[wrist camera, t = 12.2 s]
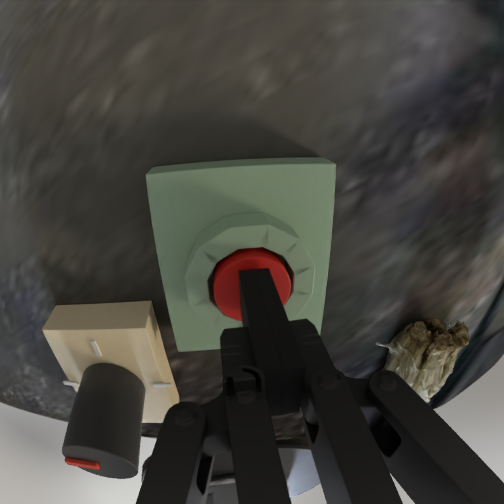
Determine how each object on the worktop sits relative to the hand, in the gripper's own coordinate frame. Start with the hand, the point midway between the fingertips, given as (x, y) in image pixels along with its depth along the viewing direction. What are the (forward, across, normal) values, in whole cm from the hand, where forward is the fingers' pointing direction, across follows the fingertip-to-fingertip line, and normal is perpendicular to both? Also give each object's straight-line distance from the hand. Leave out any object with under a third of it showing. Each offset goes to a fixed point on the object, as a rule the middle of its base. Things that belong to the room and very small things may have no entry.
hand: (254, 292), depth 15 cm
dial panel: (+5, -11, -9) cm, 14 cm away
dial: (+2, -11, -9) cm, 14 cm away
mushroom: (+5, +16, -14) cm, 22 cm away
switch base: (+5, 0, 0) cm, 5 cm away
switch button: (+2, 0, 0) cm, 2 cm away
